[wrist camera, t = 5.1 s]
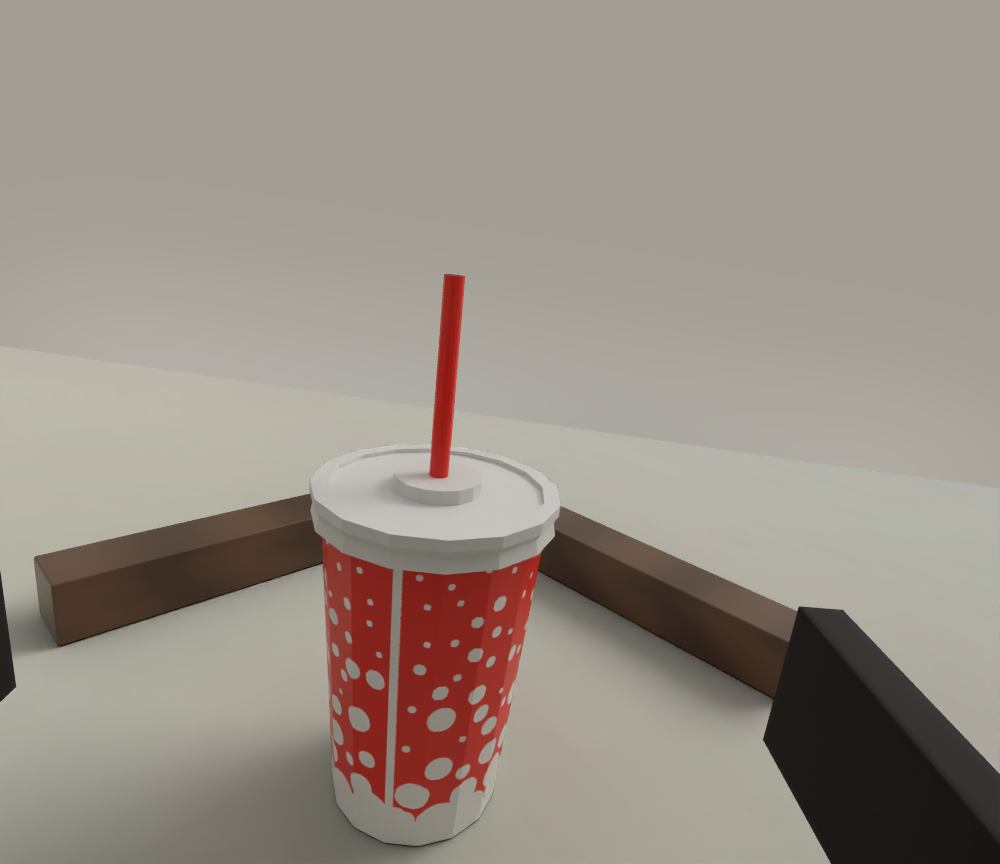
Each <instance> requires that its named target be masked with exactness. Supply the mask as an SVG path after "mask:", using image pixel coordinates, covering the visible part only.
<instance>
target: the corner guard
mask: <svg viewBox="0 0 1000 864" xmlns="http://www.w3.org/2000/svg"><path fill="white" fill-rule="evenodd" d="M311 506H312V499H311V495H310V494H306V495H302V496H298V497H293V498H289V499H284V500H280V501H276V502H271V503H267V504H263V505H258V506H254V507H249V508H245V509H241V510H236V511H232V512H227V513H223V514H219V515H214V516H210V517H206V518H201V519H197V520H192V521H188V522H184V523H179V524H175V525H171V526H166V527H162V528H157V529H153V530H149V531H144V532H140V533H135V534H131V535H127V536H122V537H118V538H114V539H109V540H105V541H100V542H96V543H92V544H87V545H83V546H79V547H74V548H70V549H65V550H61V551H57V552H52V553H48V554H43V555H39V556H35V557H34V566H35V574H36V583H37V591H38V600H39V608H40V614H41V616H42V618H43V620H44V621H45V623H46V625H47V627H48V629H49V630H50V632H51V634H52V636H53V638H54V640H55V641H56V643H57V645H58V646H61V645H64V644H67V643H70V642H73V641H77V640H80V639H83V638H86V637H89V636H92V635H95V634H99V633H102V632H105V631H108V630H111V629H114V628H117V627H121V626H124V625H127V624H130V623H133V622H136V621H140V620H143V619H146V618H149V617H152V616H155V615H158V614H162V613H165V612H168V611H171V610H174V609H177V608H181V607H184V606H187V605H190V604H193V603H196V602H199V601H203V600H206V599H209V598H212V597H215V596H218V595H221V594H225V593H228V592H231V591H234V590H237V589H240V588H244V587H247V586H250V585H253V584H256V583H259V582H262V581H266V580H269V579H272V578H275V577H278V576H281V575H285V574H288V573H291V572H294V571H297V570H300V569H303V568H307V567H310V566H313V565H316V564H319V563H322V562H323V550H322V537H321V536H320V535H319V534H318V533H316V532H315V529H314V524H313V520H312V515H311V510H310V509H311ZM554 530H555V537H554V538H553V539H552V540H551V541H550V542H549V543H548V544H547V545H546V546H545V548H544V549H543V550H542V552H541V557H540V562H539V567H538V570H539V571H541V572H543V573H545V574H547V575H549V576H550V577H552V578H554V579H556V580H558V581H560V582H561V583H563V584H565V585H567V586H569V587H571V588H572V589H574V590H576V591H578V592H580V593H582V594H583V595H585V596H587V597H589V598H591V599H593V600H594V601H596V602H598V603H600V604H602V605H604V606H605V607H607V608H609V609H611V610H613V611H615V612H616V613H618V614H620V615H622V616H624V617H626V618H627V619H629V620H631V621H633V622H635V623H637V624H638V625H640V626H642V627H644V628H646V629H648V630H650V631H651V632H653V633H655V634H657V635H659V636H661V637H662V638H664V639H666V640H668V641H670V642H672V643H673V644H675V645H677V646H679V647H681V648H683V649H684V650H686V651H688V652H690V653H692V654H694V655H695V656H697V657H699V658H701V659H703V660H705V661H706V662H708V663H710V664H712V665H714V666H716V667H717V668H719V669H721V670H723V671H725V672H727V673H728V674H730V675H732V676H734V677H736V678H738V679H739V680H741V681H743V682H745V683H747V684H749V685H750V686H752V687H754V688H756V689H758V690H760V691H761V692H763V693H765V694H767V695H769V696H771V697H773V698H774V697H775V693H776V690H777V686H778V682H779V679H780V675H781V671H782V667H783V664H784V660H785V656H786V652H787V649H788V645H789V641H790V638H791V634H792V630H793V626H794V623H795V619H796V615H797V611H795V610H793V609H791V608H788V607H786V606H784V605H782V604H779V603H777V602H775V601H773V600H771V599H768V598H766V597H764V596H762V595H759V594H757V593H755V592H753V591H750V590H748V589H746V588H744V587H741V586H739V585H737V584H735V583H732V582H730V581H728V580H726V579H723V578H721V577H719V576H717V575H714V574H712V573H710V572H708V571H705V570H703V569H701V568H699V567H696V566H694V565H692V564H690V563H687V562H685V561H683V560H681V559H678V558H676V557H674V556H672V555H669V554H667V553H665V552H663V551H660V550H658V549H656V548H654V547H652V546H649V545H647V544H645V543H643V542H640V541H638V540H636V539H634V538H631V537H629V536H627V535H625V534H622V533H620V532H618V531H616V530H613V529H611V528H609V527H607V526H604V525H602V524H600V523H598V522H595V521H593V520H591V519H589V518H586V517H584V516H582V515H580V514H577V513H575V512H573V511H571V510H568V509H566V508H564V507H562V506H560V513H559V517H558V518H557V519H556V520H555V521H554Z"/></svg>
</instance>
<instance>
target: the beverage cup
mask: <svg viewBox="0 0 1000 864" xmlns="http://www.w3.org/2000/svg"><path fill="white" fill-rule="evenodd" d="M464 284H465V276H461V275H452V274H444V284H443V298H442V312H441V324H440V337H439V352H438V364H437V378H436V391H435V404H434V417H433V431H432V444H411V445H386V446H380V447H374V448H368V449H362V450H356V451H352V452H349V453H347V454H344V455H342V456H340V457H337V458H335V459H332V460H330V461H327V462H325V463H324V464H323V465H322V466H321V467H320V468H319V469H318V470H317V472H316V473H315V474H314V475H313V476H312V477H311V478H310V489H309V490H310V495H311V499H312V506H311V509H310V510H311V515H312V520H313V524H314V529H315V532H316V533H318V534H319V535H320V536H321V537H322V550H323V572H324V595H325V617H326V640H327V662H328V685H329V707H330V730H331V753H332V775H333V783H334V790H335V796H336V803H337V805H338V806H339V808H340V809H341V810H342V812H343V813H344V814H345V815H346V817H347V818H348V819H349V821H350V822H351V823H352V825H353V826H354V827H355V828H357V829H359V830H361V831H363V832H365V833H366V834H368V835H370V836H372V837H374V838H376V839H378V840H380V841H382V842H384V843H394V844H403V845H412V846H421V845H425V844H429V843H433V842H437V841H441V840H445V839H449V838H453V837H454V836H455V835H457V834H458V833H459V832H461V831H462V830H464V829H465V828H466V827H468V826H469V825H471V824H472V823H473V822H475V821H476V820H478V819H479V817H480V815H481V814H482V812H483V810H484V808H485V807H486V805H487V803H488V801H489V800H490V798H491V796H492V794H493V789H494V784H495V779H496V774H497V769H498V765H499V760H500V755H501V750H502V745H503V740H504V735H505V730H506V725H507V720H508V715H509V710H510V705H511V700H512V695H513V690H514V685H515V681H516V676H517V671H518V666H519V661H520V656H521V651H522V646H523V641H524V636H525V631H526V626H527V621H528V616H529V611H530V606H531V601H532V597H533V592H534V587H535V582H536V577H537V572H538V567H539V562H540V557H541V552H542V550H543V549H544V548H545V546H546V545H547V544H548V543H549V542H550V541H551V540H552V539H553V538H554V537H555V530H554V521H555V520H556V519H557V518H558V517H559V513H560V500H559V494H558V488H557V487H556V486H555V485H554V484H553V483H552V482H551V481H550V480H548V479H547V478H546V477H545V476H544V475H543V474H542V473H540V472H539V471H538V470H535V469H533V468H531V467H529V466H526V465H524V464H522V463H520V462H517V461H515V460H513V459H511V458H508V457H504V456H500V455H496V454H492V453H488V452H483V451H479V450H475V449H471V448H462V447H452V446H451V438H452V426H453V415H454V402H455V391H456V379H457V367H458V366H457V365H458V354H459V343H460V330H461V318H462V308H463V296H464Z"/></svg>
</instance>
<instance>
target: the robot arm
mask: <svg viewBox="0 0 1000 864" xmlns="http://www.w3.org/2000/svg"><path fill="white" fill-rule="evenodd" d="M15 687H16V682H15V675H14V668H13V661H12V653H11V646H10V639H9V632H8V624H7V617H6V610H5V602H4V595H3V588H2V581H1V573H0V702H1V701H2V700H3V699H4V698H5V697H6V696H7V695H8V694H9V693H10V692H11V691H12V690H13V689H14V688H15ZM763 741H764V742H765V744H766V746H767V748H768V750H769V751H770V753H771V755H772V757H773V759H774V761H775V762H776V764H777V766H778V768H779V770H780V772H781V773H782V775H783V777H784V779H785V781H786V782H787V784H788V786H789V788H790V790H791V792H792V793H793V795H794V797H795V799H796V801H797V802H798V804H799V806H800V808H801V810H802V812H803V813H804V815H805V817H806V819H807V821H808V822H809V824H810V826H811V828H812V830H813V832H814V833H815V835H816V837H817V839H818V841H819V843H820V844H821V846H822V848H823V850H824V852H825V853H826V855H827V857H828V859H829V861H830V863H831V864H1000V774H999V773H998V772H997V771H996V770H995V769H994V768H993V767H992V766H991V765H990V763H989V762H988V761H987V760H986V759H985V758H984V757H983V756H982V755H981V754H980V753H979V752H978V751H977V750H976V749H975V748H974V747H973V746H972V745H971V744H970V743H969V741H968V740H967V739H966V738H965V737H964V736H963V735H962V734H961V733H960V732H959V731H958V730H957V729H956V728H955V727H954V726H953V725H952V724H951V723H950V722H949V721H948V720H947V718H946V717H945V716H944V715H943V714H942V713H941V712H940V711H939V710H938V709H937V708H936V707H935V706H934V705H933V704H932V703H931V702H930V701H929V700H928V699H927V698H926V697H925V695H924V694H923V693H922V692H921V691H920V690H919V689H918V688H917V687H916V686H915V685H914V684H913V683H912V682H911V681H910V680H909V679H908V678H907V677H906V676H905V675H904V673H903V672H902V671H901V670H900V669H899V668H898V667H897V666H896V665H895V664H894V663H893V662H892V661H891V660H890V659H889V658H888V657H887V656H886V655H885V654H884V653H883V652H882V650H881V649H880V648H879V647H878V646H877V645H876V644H875V643H874V642H873V641H872V640H871V639H870V638H869V637H868V636H867V635H866V634H865V633H864V632H863V631H862V630H861V629H860V627H859V626H858V625H857V624H856V623H855V622H854V621H853V620H852V619H851V618H850V617H849V616H848V615H847V614H846V613H845V612H844V611H843V610H836V609H824V608H811V607H799V608H798V611H797V615H796V619H795V623H794V626H793V630H792V634H791V638H790V641H789V645H788V649H787V652H786V656H785V660H784V664H783V667H782V671H781V675H780V679H779V682H778V686H777V690H776V693H775V697H774V701H773V705H772V708H771V712H770V716H769V719H768V723H767V727H766V731H765V734H764V738H763Z"/></svg>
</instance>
